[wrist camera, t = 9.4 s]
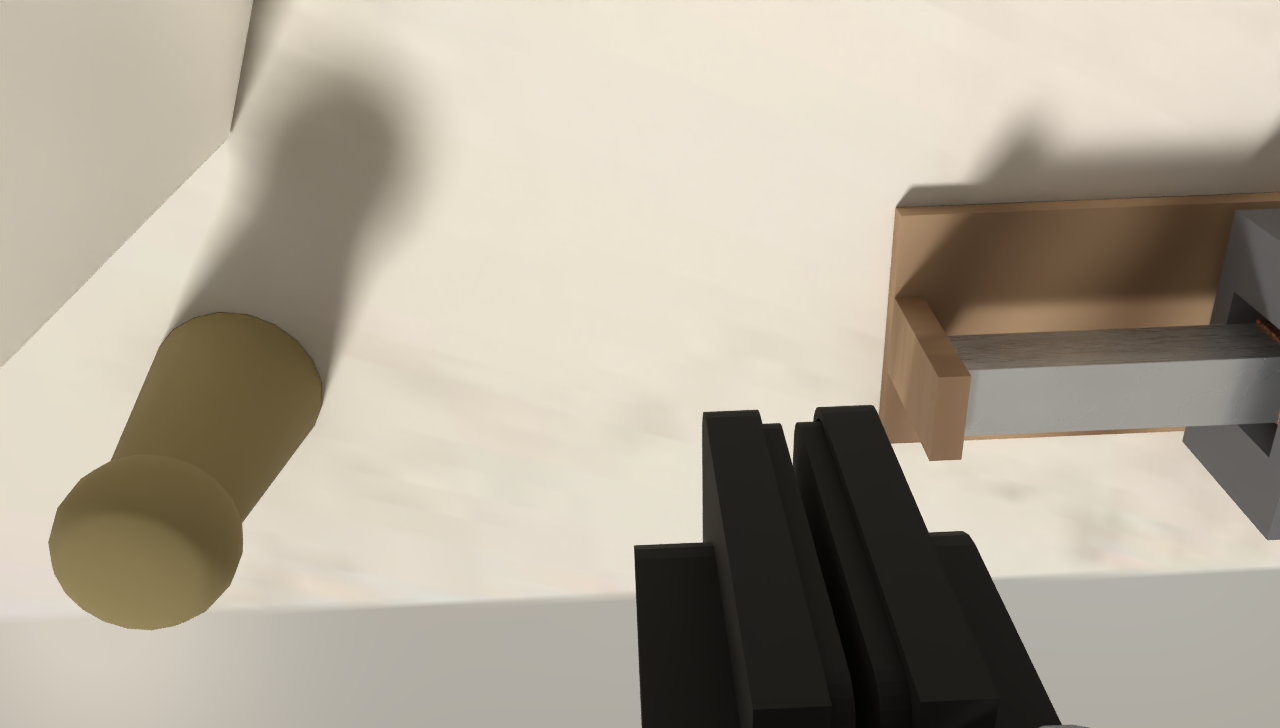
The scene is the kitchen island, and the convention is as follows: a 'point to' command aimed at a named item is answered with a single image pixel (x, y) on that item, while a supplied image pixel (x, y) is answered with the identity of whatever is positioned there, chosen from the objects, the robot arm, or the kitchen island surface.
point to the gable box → (100, 132)
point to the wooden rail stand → (1037, 289)
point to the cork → (186, 473)
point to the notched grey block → (1248, 290)
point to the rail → (1122, 378)
